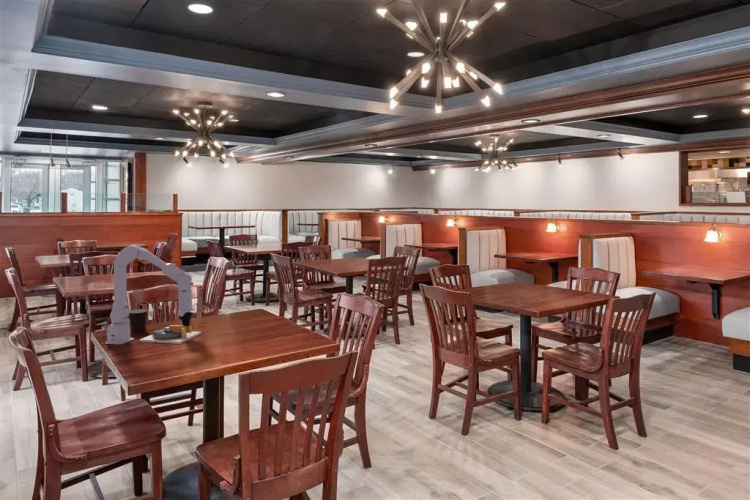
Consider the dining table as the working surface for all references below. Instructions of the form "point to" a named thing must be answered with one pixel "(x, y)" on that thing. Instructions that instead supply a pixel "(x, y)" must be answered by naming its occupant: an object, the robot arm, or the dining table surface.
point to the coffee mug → (138, 320)
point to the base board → (177, 340)
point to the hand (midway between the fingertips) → (186, 328)
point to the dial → (171, 332)
